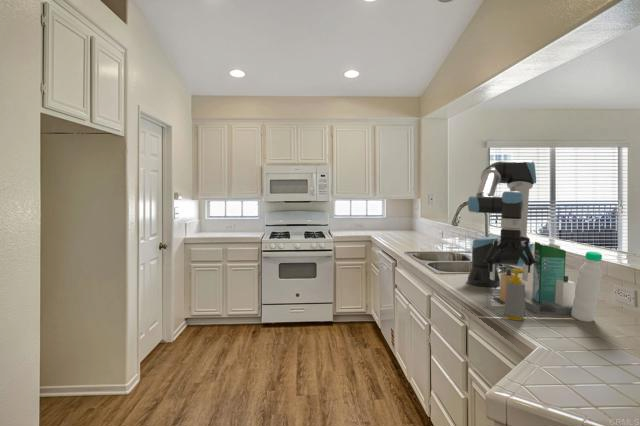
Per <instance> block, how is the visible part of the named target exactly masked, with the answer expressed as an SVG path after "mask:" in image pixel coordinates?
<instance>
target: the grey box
mask: <svg viewBox="0 0 640 426" xmlns="http://www.w3.org/2000/svg"><path fill="white" fill-rule="evenodd" d="M575 290H576V282H574V281H571V280H569V275H568V276H567V275H565V276H563V280H556V296H555V301H542V303H541V305H536V304H534V303H532V302H530V301H529V300H525V309H528V310H529V311H531V312H532V313H535V314H537V315H571V311H572V307H573V301H574V298H575Z"/></svg>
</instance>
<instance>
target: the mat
mask: <svg viewBox="0 0 640 426" xmlns="http://www.w3.org/2000/svg"><path fill="white" fill-rule="evenodd" d="M491 299H492V300H493V301H495V302H497V303H498V304H500V305H504V306H505V302H503V301H501V300H500V297H491Z"/></svg>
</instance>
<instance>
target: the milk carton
mask: <svg viewBox="0 0 640 426" xmlns="http://www.w3.org/2000/svg"><path fill="white" fill-rule="evenodd" d="M533 253H534V255H533V258H534V260H535V264H533V274H532V275H533V277H532V299H533V300H535V301H536V302H537V304H542V301H555V296H556V280H563V276H566V255H567V251H566V250H565V249H562V248H561V245H559V244H555V243H552V242H550V243H549V244H545V243H541V242H538V241H534V252H533Z"/></svg>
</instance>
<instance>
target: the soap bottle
mask: <svg viewBox="0 0 640 426" xmlns="http://www.w3.org/2000/svg"><path fill="white" fill-rule="evenodd" d="M511 271H514V272H513V275H515V276H513V279H511V281H508V282H507V290H506V300H505V305H504V311H503V312H504V313H503V314H504V315H505V317H506V319H509V320H513V321H522V320H524V318H525V317H526V307H525V301H526V287H525V286H526V284H525V282H522V280H521V278H520V276H519V275H520V273H523V272H527V271H523V269H522V270H521V269H517V268H511Z"/></svg>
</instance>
